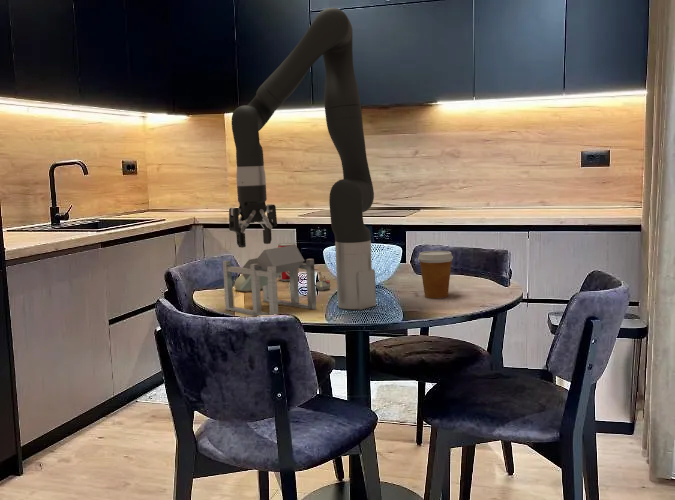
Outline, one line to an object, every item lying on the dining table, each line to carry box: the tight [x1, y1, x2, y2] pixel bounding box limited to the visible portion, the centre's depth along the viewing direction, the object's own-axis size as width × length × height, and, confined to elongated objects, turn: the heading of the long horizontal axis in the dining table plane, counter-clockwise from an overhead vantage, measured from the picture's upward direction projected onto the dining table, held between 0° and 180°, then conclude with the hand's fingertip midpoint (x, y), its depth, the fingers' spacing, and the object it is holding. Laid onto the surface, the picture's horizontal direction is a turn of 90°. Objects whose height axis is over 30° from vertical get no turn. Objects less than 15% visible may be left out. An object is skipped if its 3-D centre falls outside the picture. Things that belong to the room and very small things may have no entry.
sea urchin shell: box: [234, 274, 263, 293], centre depth 207 cm, size 9×8×8 cm
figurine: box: [315, 271, 331, 292], centre depth 202 cm, size 5×4×6 cm
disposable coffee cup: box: [417, 250, 454, 299], centre depth 185 cm, size 10×10×12 cm
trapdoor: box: [240, 244, 306, 290], centre depth 176 cm, size 15×11×5 cm
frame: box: [222, 258, 317, 316], centre depth 177 cm, size 20×14×13 cm
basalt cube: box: [241, 257, 260, 280], centre depth 180 cm, size 5×5×5 cm
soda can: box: [277, 242, 300, 282], centre depth 221 cm, size 7×7×12 cm
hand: (254, 245), depth 179 cm, fingers open, 8 cm apart
